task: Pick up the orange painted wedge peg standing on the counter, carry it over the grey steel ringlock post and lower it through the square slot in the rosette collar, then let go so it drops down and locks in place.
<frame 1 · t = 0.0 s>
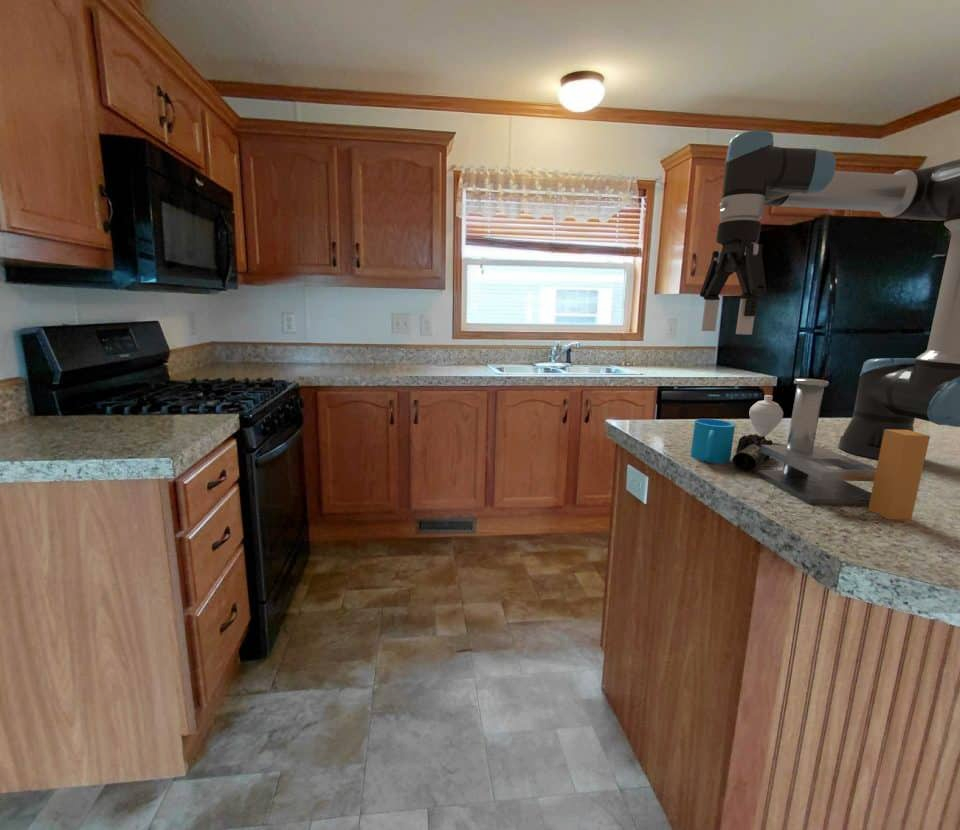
hand: (724, 332, 102), 28 cm above the countertop, fingers open, 13 cm apart
rosette post: (815, 488, 96), on the countertop
mug: (709, 461, 113), on the countertop
spinning top: (761, 441, 132), on the countertop
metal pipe: (749, 464, 112), on the countertop
wedge peg: (889, 514, 84), on the countertop
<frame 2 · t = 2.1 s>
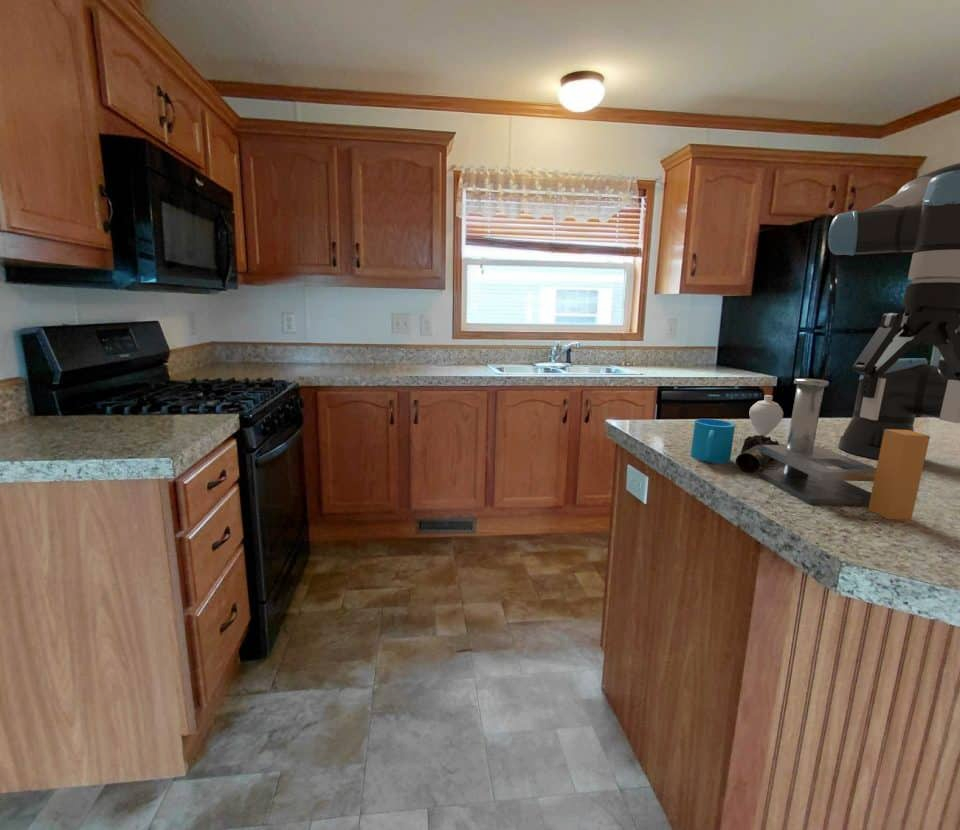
hand: (909, 420, 81), 16 cm above the countertop, fingers open, 13 cm apart
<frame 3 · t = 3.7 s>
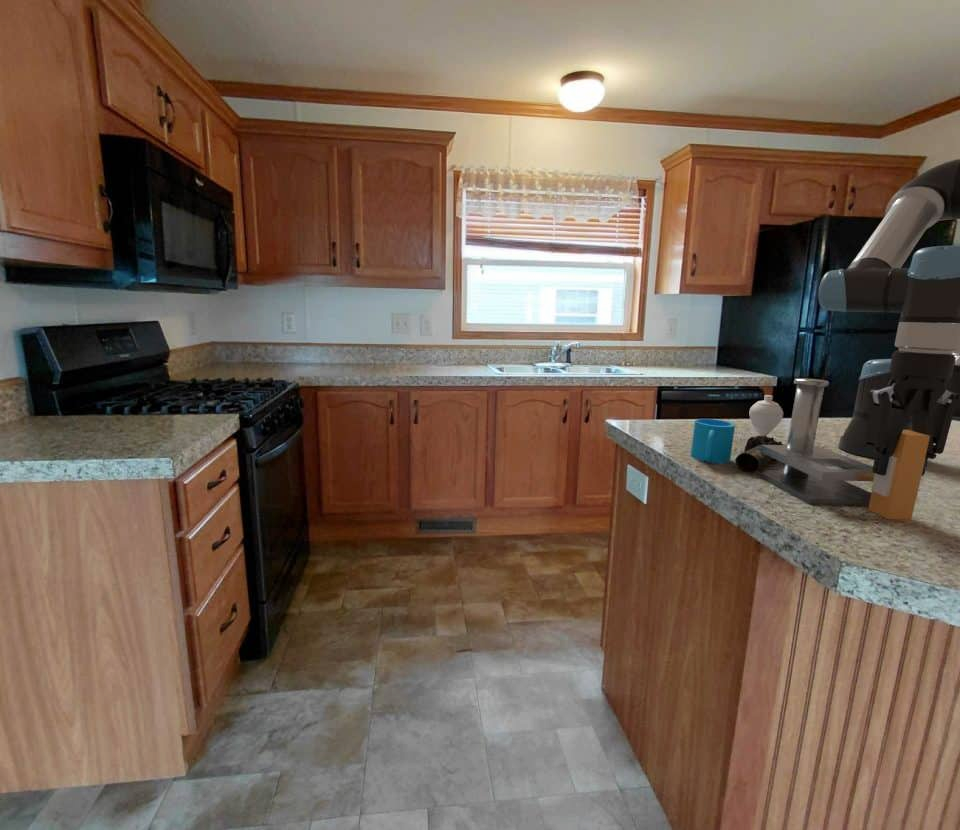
hand: (893, 493, 83), 4 cm above the countertop, fingers closed on wedge peg, 4 cm apart
wedge peg: (889, 514, 84), on the countertop, touching gripper
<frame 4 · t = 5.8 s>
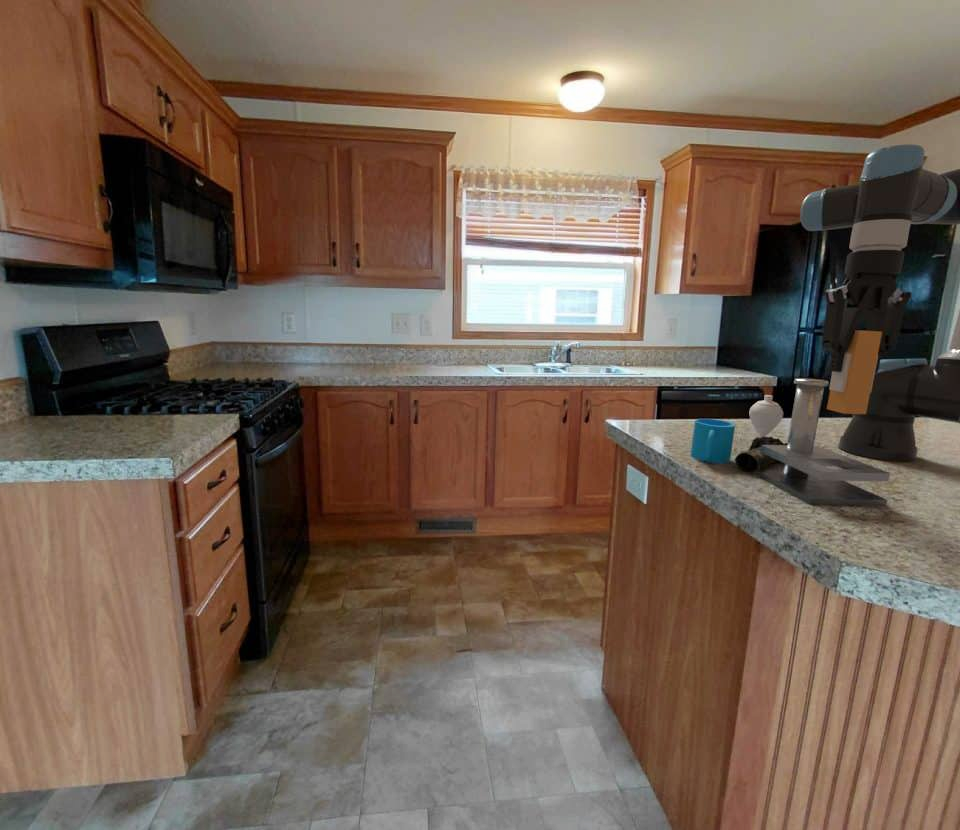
hand: (849, 390, 88), 19 cm above the countertop, fingers closed on wedge peg, 4 cm apart
wedge peg: (845, 411, 89), point 16 cm above the countertop, touching gripper
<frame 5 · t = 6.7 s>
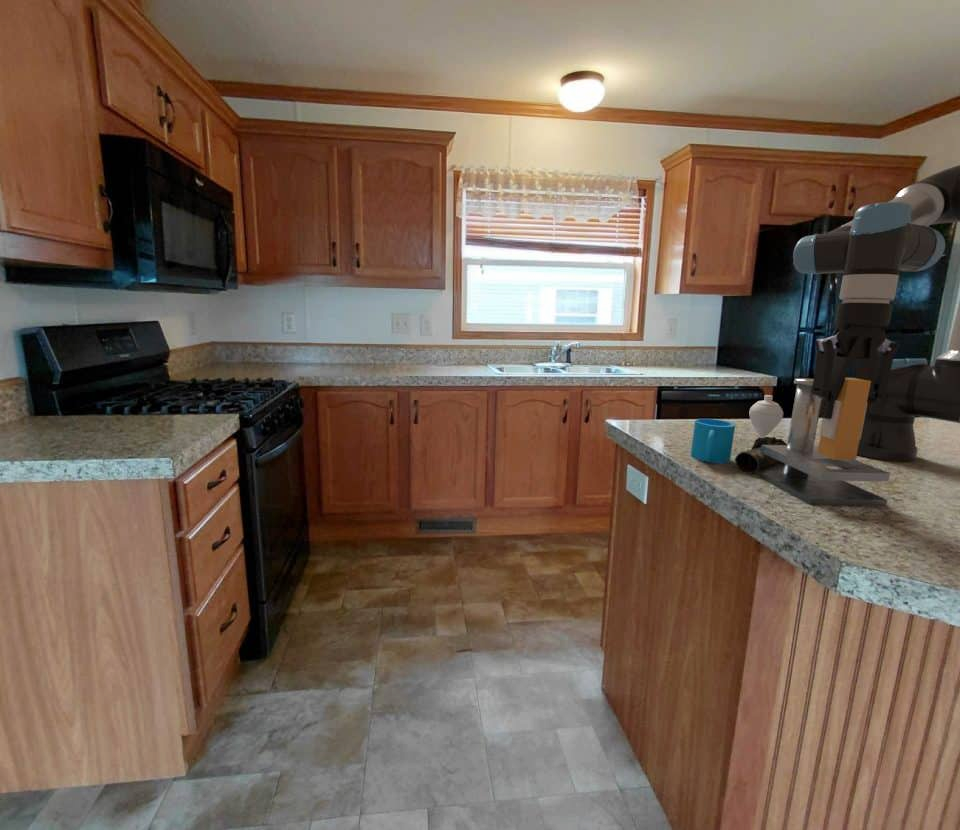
hand: (839, 436, 90), 11 cm above the countertop, fingers closed on wedge peg, 4 cm apart
wedge peg: (836, 456, 91), point 7 cm above the countertop, touching gripper
when the fingers open (8 cm above the countertop, at t = 7.7 s): wedge peg drops 3 cm, resting on rosette post.
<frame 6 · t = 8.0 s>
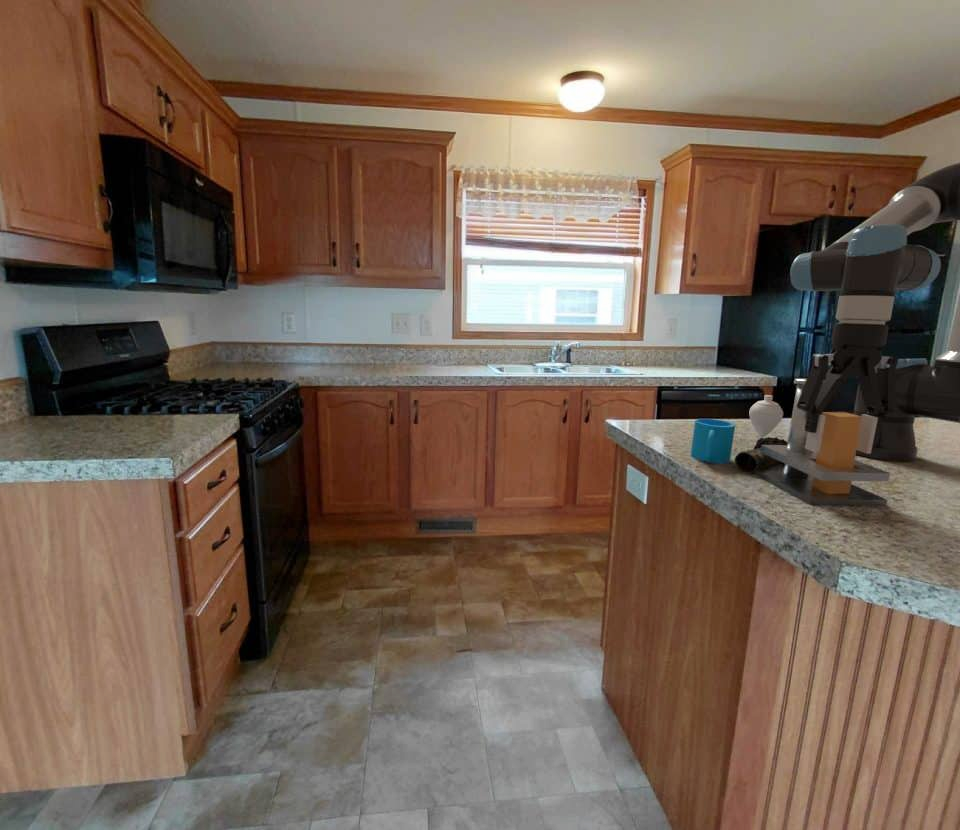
hand: (837, 450, 90), 8 cm above the countertop, fingers open, 9 cm apart
wedge peg: (830, 489, 92), point 1 cm above the countertop, touching rosette post
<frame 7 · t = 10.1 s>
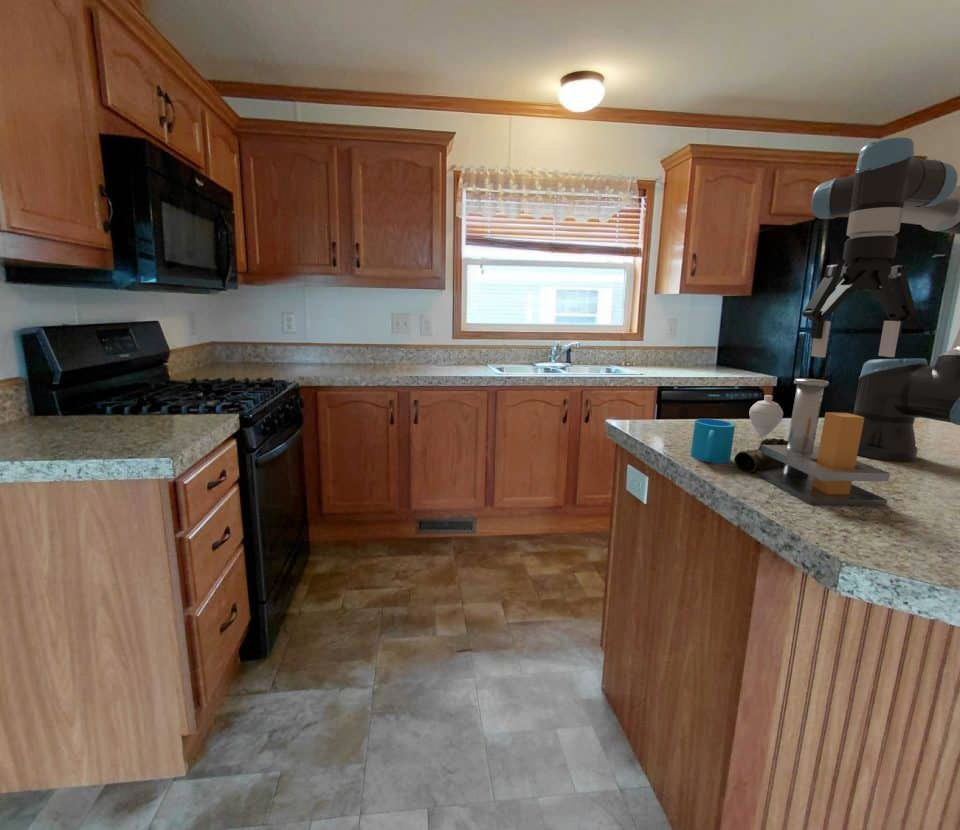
hand: (852, 356, 95), 25 cm above the countertop, fingers open, 13 cm apart
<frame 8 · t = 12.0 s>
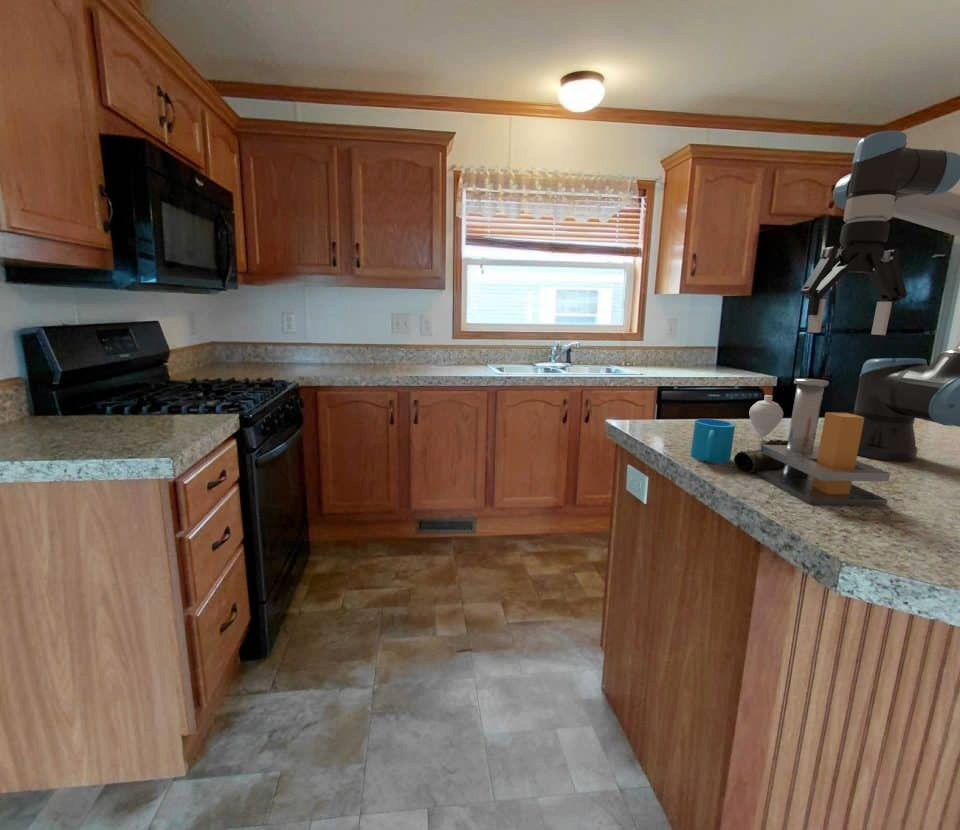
hand: (846, 333, 102), 29 cm above the countertop, fingers open, 13 cm apart
at the end: wedge peg 0.1 cm from the target spot on the rosette post, point 1.0 cm above the rosette post's base; wedge peg tilted 0°; the gripper is holding nothing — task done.
